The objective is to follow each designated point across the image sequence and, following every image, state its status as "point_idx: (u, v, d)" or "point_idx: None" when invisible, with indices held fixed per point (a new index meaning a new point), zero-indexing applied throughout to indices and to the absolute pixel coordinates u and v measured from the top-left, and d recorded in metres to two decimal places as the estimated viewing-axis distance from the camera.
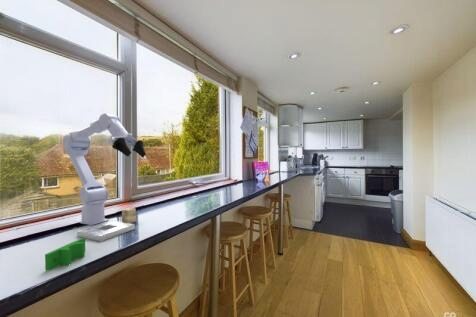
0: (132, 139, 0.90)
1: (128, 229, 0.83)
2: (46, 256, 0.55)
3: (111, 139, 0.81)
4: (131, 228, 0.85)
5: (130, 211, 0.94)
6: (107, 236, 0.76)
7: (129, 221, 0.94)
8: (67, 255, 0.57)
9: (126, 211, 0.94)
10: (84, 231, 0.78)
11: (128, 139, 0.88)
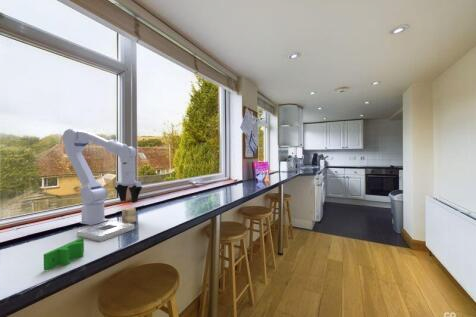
0: None
1: (128, 229, 0.83)
2: (44, 256, 0.55)
3: (140, 184, 0.93)
4: (131, 228, 0.85)
5: (130, 211, 0.94)
6: (107, 236, 0.76)
7: (129, 221, 0.94)
8: (65, 255, 0.57)
9: (126, 211, 0.94)
10: (84, 231, 0.78)
11: None
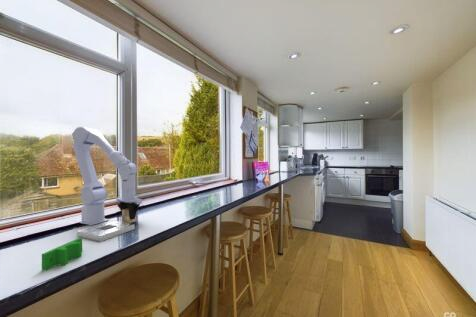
0: None
1: (128, 229, 0.83)
2: (42, 256, 0.55)
3: (140, 201, 0.93)
4: (131, 228, 0.85)
5: None
6: (107, 236, 0.76)
7: (129, 221, 0.94)
8: (63, 255, 0.57)
9: (126, 211, 0.94)
10: (84, 231, 0.78)
11: None
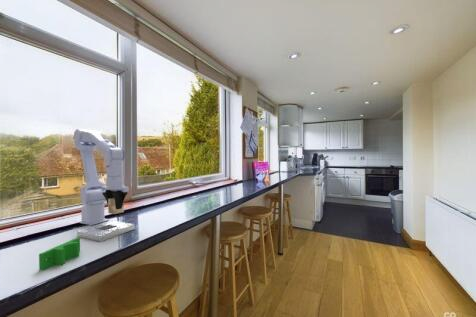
0: None
1: (128, 229, 0.83)
2: (40, 256, 0.55)
3: (127, 189, 0.85)
4: (131, 228, 0.85)
5: None
6: (107, 236, 0.76)
7: (116, 211, 0.85)
8: (61, 255, 0.57)
9: (113, 200, 0.85)
10: (84, 231, 0.78)
11: None
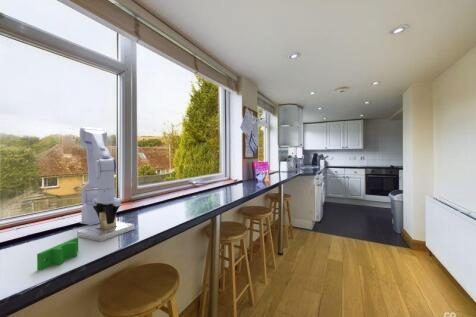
0: None
1: (128, 229, 0.83)
2: (38, 256, 0.55)
3: (119, 203, 0.80)
4: (131, 228, 0.85)
5: None
6: (107, 236, 0.76)
7: (107, 226, 0.81)
8: (59, 255, 0.57)
9: (104, 214, 0.81)
10: (84, 231, 0.78)
11: None
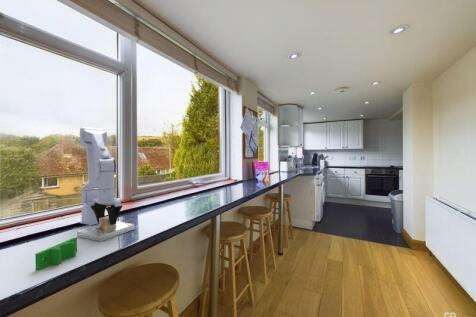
0: None
1: (128, 229, 0.83)
2: (36, 256, 0.55)
3: (119, 203, 0.80)
4: (131, 228, 0.85)
5: None
6: (107, 236, 0.76)
7: None
8: (57, 255, 0.58)
9: (104, 220, 0.81)
10: (84, 231, 0.78)
11: None
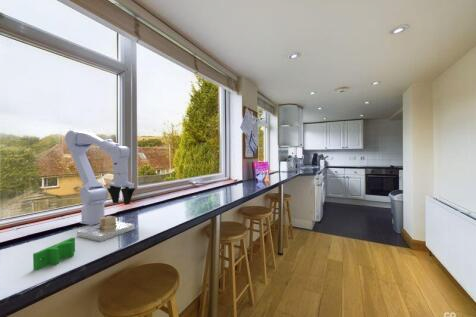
0: None
1: (128, 229, 0.83)
2: (34, 256, 0.55)
3: (132, 186, 0.89)
4: (131, 228, 0.85)
5: (109, 220, 0.81)
6: (107, 236, 0.76)
7: None
8: (55, 254, 0.58)
9: (104, 220, 0.81)
10: (84, 231, 0.78)
11: None
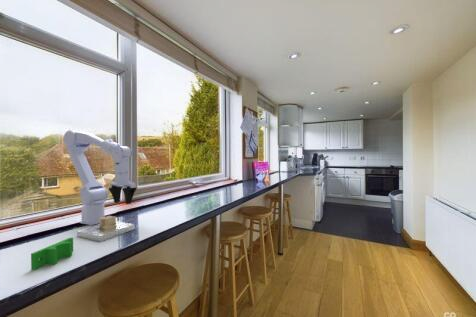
0: None
1: (128, 229, 0.83)
2: (32, 255, 0.55)
3: (134, 185, 0.91)
4: (131, 228, 0.85)
5: (109, 220, 0.81)
6: (107, 236, 0.76)
7: None
8: (53, 254, 0.58)
9: (104, 220, 0.81)
10: (84, 231, 0.78)
11: None
